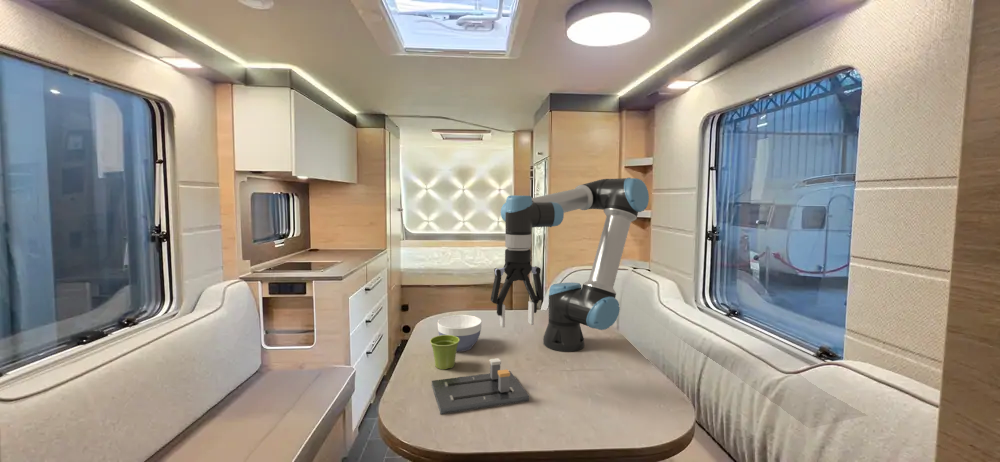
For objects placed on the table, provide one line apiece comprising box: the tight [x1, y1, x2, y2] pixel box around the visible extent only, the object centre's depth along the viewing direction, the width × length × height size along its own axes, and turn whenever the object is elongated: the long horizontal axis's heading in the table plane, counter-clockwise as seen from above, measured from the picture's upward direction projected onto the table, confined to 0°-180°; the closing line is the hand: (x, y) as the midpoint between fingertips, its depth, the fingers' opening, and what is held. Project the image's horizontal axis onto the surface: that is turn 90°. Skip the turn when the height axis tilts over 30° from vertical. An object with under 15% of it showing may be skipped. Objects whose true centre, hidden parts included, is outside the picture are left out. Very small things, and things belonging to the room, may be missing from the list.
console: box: [431, 370, 530, 415], centre depth 113 cm, size 24×16×2 cm, turn 108°
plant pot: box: [429, 335, 460, 370], centre depth 130 cm, size 9×9×9 cm
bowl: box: [437, 314, 483, 352], centre depth 147 cm, size 16×16×10 cm
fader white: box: [489, 357, 502, 380], centre depth 118 cm, size 3×2×5 cm
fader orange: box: [498, 368, 511, 393], centre depth 110 cm, size 3×2×5 cm
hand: (516, 324), depth 119 cm, fingers open, 8 cm apart
